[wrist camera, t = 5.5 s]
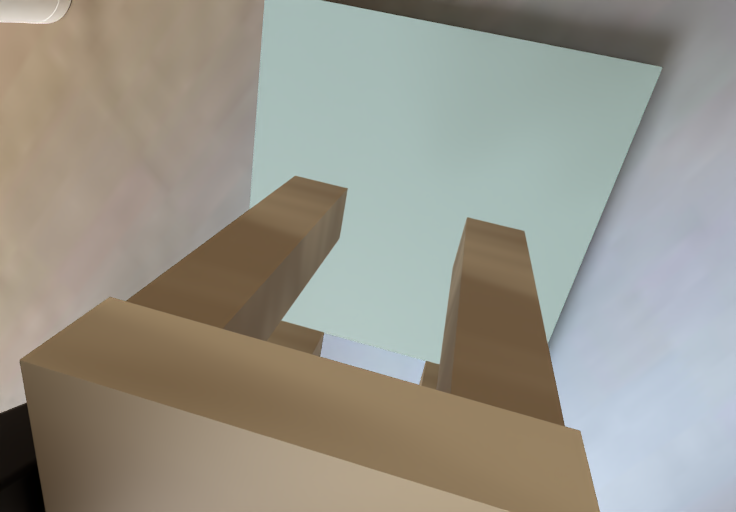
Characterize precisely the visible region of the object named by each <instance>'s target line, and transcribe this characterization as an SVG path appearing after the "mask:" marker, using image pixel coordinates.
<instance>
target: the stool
mask: <svg viewBox="0 0 736 512" xmlns="http://www.w3.org/2000/svg"><path fill="white" fill-rule="evenodd" d="M347 191H348V188H344V187H340V186H336V185H332V184H328V183H324V182H320V181H315V180H311V179H307V178H303V177H299V176H294V177H293V178H291V179H290V180H289V181H287V182H286V183H284V184H283V185H282V186H280V187H279V188H278V189H276V190H275V191H274V192H272V193H271V194H270V195H268V196H267V197H266V198H264V199H263V200H262V201H260V202H259V203H257V204H256V205H255V206H253V207H252V208H251V209H249V210H248V211H247V212H245V213H244V214H243V215H241V216H240V217H239V218H237V219H236V220H235V221H233V222H232V223H231V224H229V225H228V226H226V227H225V228H224V229H222V230H221V231H220V232H218V233H217V234H216V235H214V236H213V237H212V238H210V239H209V240H208V241H206V242H205V243H204V244H202V245H201V246H200V247H198V248H197V249H195V250H194V251H193V252H191V253H190V254H189V255H187V256H186V257H185V258H183V259H182V260H181V261H179V262H178V263H177V264H175V265H174V266H173V267H171V268H170V269H168V270H167V271H166V272H164V273H163V274H162V275H160V276H159V277H158V278H156V279H155V280H154V281H152V282H151V283H150V284H148V285H147V286H146V287H144V288H143V289H142V290H140V291H139V292H137V293H136V294H135V295H133V296H132V297H131V298H129V299H128V300H127V301H123V300H119V299H116V298H112V297H109V298H108V299H106V300H105V301H103V302H102V303H100V304H99V305H97V306H96V307H95V308H93V309H92V310H90V311H89V312H87V313H86V314H85V315H83V316H82V317H80V318H79V319H77V320H76V321H75V322H73V323H72V324H70V325H69V326H67V327H66V328H65V329H63V330H62V331H60V332H59V333H57V334H56V335H55V336H53V337H52V338H50V339H49V340H47V341H46V342H45V343H43V344H42V345H40V346H39V347H37V348H36V349H35V350H33V351H32V352H30V353H29V354H27V355H26V356H24V357H23V358H22V359H20V366H21V372H22V377H23V383H24V389H25V395H26V401H27V406H28V412H29V418H30V424H31V430H32V435H33V441H34V447H35V453H36V459H37V464H38V470H39V476H40V482H41V488H42V493H43V499H44V505H45V511H46V512H600V510H599V506H598V502H597V498H596V494H595V490H594V485H593V481H592V477H591V473H590V469H589V465H588V461H587V457H586V453H585V448H584V444H583V440H582V436H581V432H580V431H579V430H575V429H572V428H568V427H565V425H564V420H563V415H562V411H561V406H560V401H559V396H558V391H557V386H556V381H555V377H554V372H553V367H552V362H551V357H550V352H549V347H548V343H547V338H546V333H545V328H544V323H543V318H542V313H541V309H540V304H539V299H538V294H537V289H536V284H535V280H534V275H533V270H532V265H531V260H530V255H529V250H528V246H527V241H526V236H525V231H523V230H519V229H514V228H510V227H506V226H502V225H498V224H494V223H490V222H485V221H481V220H477V219H473V218H469V217H467V219H466V223H465V226H464V230H463V233H462V237H461V240H460V244H459V247H458V251H457V254H456V258H455V261H454V265H453V269H452V276H451V284H450V291H449V299H448V306H447V313H446V321H445V328H444V335H443V343H442V350H441V358H440V364H436V363H432V362H429V361H426V363H425V366H424V370H423V373H422V377H421V380H420V384H419V385H417V384H414V383H410V382H407V381H403V380H400V379H396V378H393V377H389V376H386V375H382V374H379V373H375V372H372V371H368V370H365V369H361V368H358V367H354V366H351V365H347V364H344V363H340V362H337V361H333V360H330V359H326V358H323V357H320V354H321V348H322V342H323V336H324V332H321V331H317V330H314V329H310V328H307V327H303V326H300V325H296V324H292V323H289V322H285V321H282V319H283V317H284V316H285V314H286V313H287V312H288V310H289V309H290V307H291V306H292V305H293V303H294V302H295V300H296V299H297V298H298V296H299V295H300V293H301V292H302V291H303V289H304V288H305V286H306V285H307V284H308V282H309V281H310V279H311V278H312V276H313V275H314V274H315V272H316V271H317V269H318V268H319V267H320V265H321V264H322V262H323V261H324V260H325V258H326V257H327V255H328V254H329V253H330V251H331V250H332V248H333V247H334V246H335V244H336V243H337V241H338V240H339V239H340V233H341V227H342V221H343V215H344V209H345V203H346V197H347Z"/></svg>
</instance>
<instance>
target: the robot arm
mask: <svg viewBox="0 0 736 512" xmlns="http://www.w3.org/2000/svg"><path fill="white" fill-rule="evenodd" d="M0 512H46V511H45V505H44V499H43V493H42V488H41V482H40V476H39V470H38V464H37V459H36V453H35V447H34V441H33V435H32V430H31V424H30V418H29V412H28V406H27V403H24V404H22V405H19V406H17V407H14V408H12V409H9V410H7V411H4V412H2V413H0Z"/></svg>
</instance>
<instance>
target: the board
mask: <svg viewBox="0 0 736 512" xmlns="http://www.w3.org/2000/svg"><path fill="white" fill-rule="evenodd" d="M662 68H663V67H659V66H654V65H649V64H644V63H639V62H634V61H629V60H624V59H619V58H613V57H608V56H603V55H598V54H593V53H588V52H583V51H578V50H573V49H568V48H562V47H557V46H552V45H547V44H542V43H537V42H532V41H527V40H522V39H516V38H511V37H506V36H501V35H496V34H491V33H486V32H481V31H476V30H471V29H465V28H460V27H455V26H450V25H445V24H440V23H435V22H430V21H425V20H419V19H414V18H409V17H404V16H399V15H394V14H389V13H384V12H379V11H374V10H368V9H363V8H358V7H353V6H348V5H343V4H338V3H333V2H328V1H322V0H265V2H264V16H263V30H262V44H261V57H260V71H259V85H258V99H257V113H256V126H255V140H254V154H253V168H252V181H251V195H250V209H251V208H252V207H253V206H255V205H256V204H257V203H259V202H260V201H262V200H263V199H264V198H266V197H267V196H268V195H270V194H271V193H272V192H274V191H275V190H276V189H278V188H279V187H280V186H282V185H283V184H284V183H286V182H287V181H289V180H290V179H291V178H293V177H294V176H299V177H303V178H307V179H311V180H315V181H320V182H324V183H328V184H332V185H336V186H340V187H344V188H348V191H347V197H346V203H345V209H344V215H343V221H342V227H341V233H340V239H339V240H338V241H337V243H336V244H335V246H334V247H333V248H332V250H331V251H330V253H329V254H328V255H327V257H326V258H325V260H324V261H323V262H322V264H321V265H320V267H319V268H318V269H317V271H316V272H315V274H314V275H313V276H312V278H311V279H310V281H309V282H308V284H307V285H306V286H305V288H304V289H303V291H302V292H301V293H300V295H299V296H298V298H297V299H296V300H295V302H294V303H293V305H292V306H291V307H290V309H289V310H288V312H287V313H286V314H285V316H284V317H283V319H282V321H285V322H289V323H292V324H296V325H300V326H303V327H307V328H310V329H314V330H317V331H321V332H324V333H326V334H329V335H333V336H337V337H340V338H344V339H348V340H351V341H355V342H358V343H362V344H366V345H369V346H373V347H377V348H380V349H384V350H388V351H391V352H395V353H399V354H402V355H406V356H409V357H413V358H417V359H420V360H424V361H429V362H432V363H436V364H440V358H441V350H442V343H443V335H444V328H445V321H446V313H447V306H448V299H449V291H450V284H451V276H452V269H453V265H454V261H455V258H456V254H457V251H458V247H459V244H460V240H461V237H462V233H463V230H464V226H465V223H466V219H467V217H469V218H473V219H477V220H481V221H485V222H490V223H494V224H498V225H502V226H506V227H510V228H514V229H519V230H523V231H525V236H526V241H527V246H528V250H529V255H530V260H531V265H532V270H533V275H534V280H535V284H536V289H537V294H538V299H539V304H540V309H541V313H542V318H543V323H544V328H545V333H546V338H547V343H548V342H549V340H550V337H551V335H552V332H553V330H554V328H555V325H556V323H557V320H558V318H559V316H560V313H561V311H562V308H563V306H564V304H565V301H566V299H567V296H568V294H569V292H570V289H571V287H572V284H573V282H574V279H575V277H576V275H577V272H578V270H579V267H580V265H581V263H582V260H583V258H584V255H585V253H586V251H587V248H588V246H589V243H590V241H591V239H592V236H593V234H594V231H595V229H596V227H597V224H598V222H599V219H600V217H601V215H602V212H603V210H604V207H605V205H606V202H607V200H608V198H609V195H610V193H611V190H612V188H613V186H614V183H615V181H616V178H617V176H618V174H619V171H620V169H621V166H622V164H623V162H624V159H625V157H626V154H627V152H628V150H629V147H630V145H631V142H632V140H633V137H634V135H635V133H636V130H637V128H638V125H639V123H640V121H641V118H642V116H643V113H644V111H645V109H646V106H647V104H648V101H649V99H650V97H651V94H652V92H653V89H654V87H655V85H656V82H657V80H658V77H659V75H660V73H661V70H662Z"/></svg>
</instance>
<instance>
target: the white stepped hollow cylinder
mask: <svg viewBox="0 0 736 512" xmlns="http://www.w3.org/2000/svg"><path fill="white" fill-rule="evenodd" d="M70 3H71V0H0V22H14V23H38V24H48V23H53V22H55V21H57V20H59V19H60V18H62V17H63V16H64V15H65V13H66V12H67V10H68V8H69V6H70Z"/></svg>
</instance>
